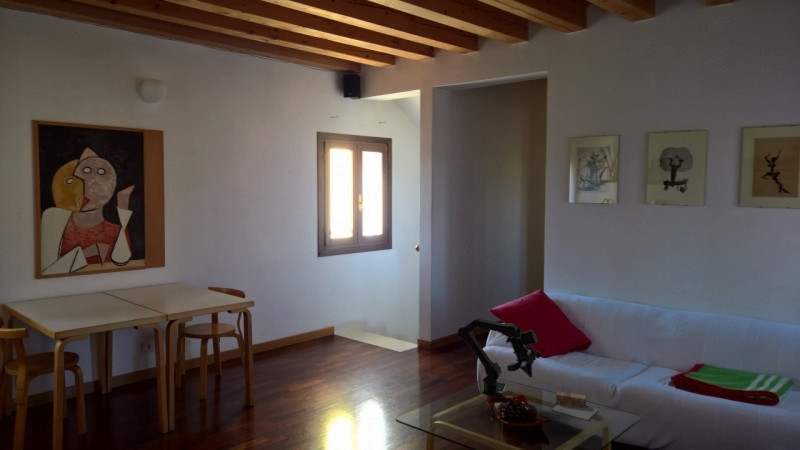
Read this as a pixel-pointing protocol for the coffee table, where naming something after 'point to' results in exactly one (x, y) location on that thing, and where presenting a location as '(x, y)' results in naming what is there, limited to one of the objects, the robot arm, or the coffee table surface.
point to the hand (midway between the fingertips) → (530, 377)
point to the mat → (575, 411)
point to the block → (571, 399)
